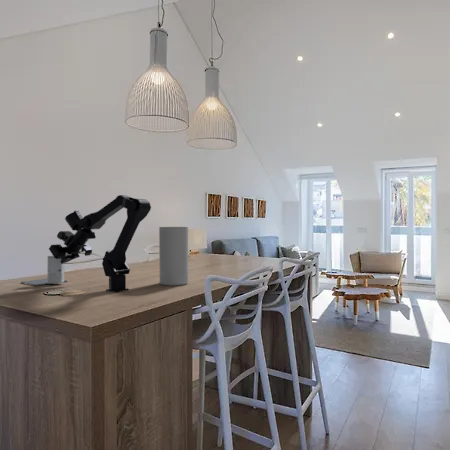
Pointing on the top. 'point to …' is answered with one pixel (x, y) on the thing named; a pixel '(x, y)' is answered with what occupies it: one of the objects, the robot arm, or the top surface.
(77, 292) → the cork coaster
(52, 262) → the skincare box
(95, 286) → the top surface
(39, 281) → the felt mat
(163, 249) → the cylinder vase
